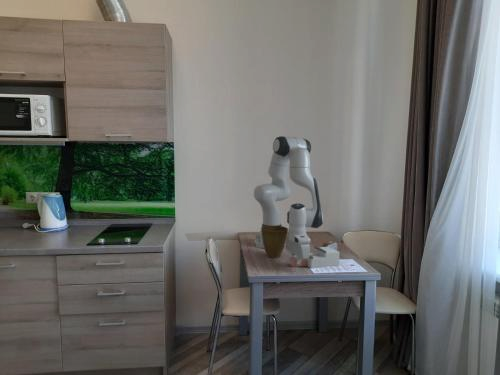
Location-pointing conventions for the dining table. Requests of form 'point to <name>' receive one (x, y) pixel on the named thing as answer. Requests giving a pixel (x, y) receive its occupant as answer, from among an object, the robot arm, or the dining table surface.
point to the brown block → (302, 262)
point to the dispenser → (323, 257)
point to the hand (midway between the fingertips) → (296, 262)
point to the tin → (331, 244)
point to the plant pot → (274, 240)
